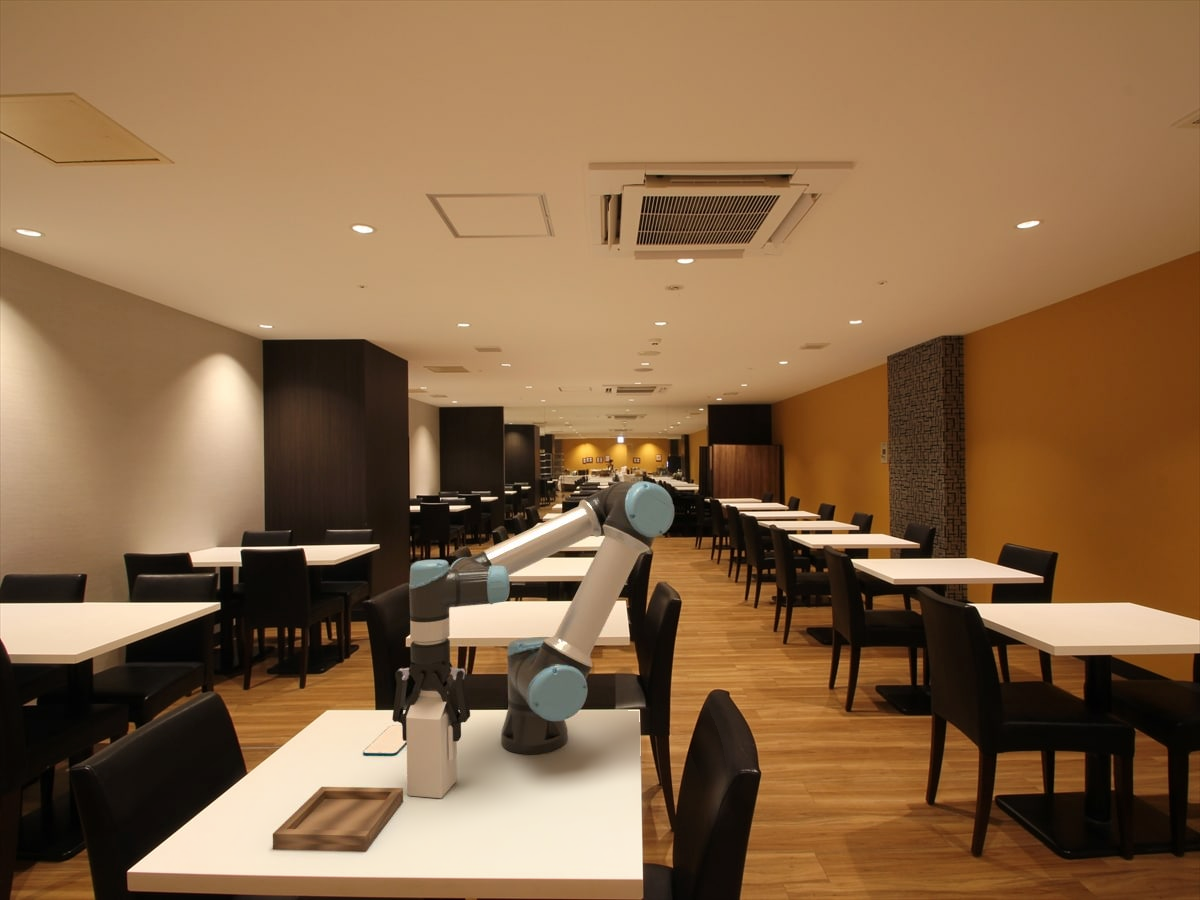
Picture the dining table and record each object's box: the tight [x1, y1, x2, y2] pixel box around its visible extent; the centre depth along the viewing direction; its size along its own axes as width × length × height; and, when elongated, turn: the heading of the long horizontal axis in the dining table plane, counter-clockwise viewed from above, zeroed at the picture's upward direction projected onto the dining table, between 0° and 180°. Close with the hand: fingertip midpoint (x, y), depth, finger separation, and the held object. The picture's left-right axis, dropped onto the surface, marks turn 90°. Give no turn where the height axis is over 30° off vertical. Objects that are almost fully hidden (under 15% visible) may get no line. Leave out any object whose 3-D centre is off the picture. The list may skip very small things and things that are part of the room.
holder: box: [272, 786, 404, 852], centre depth 116 cm, size 16×16×2 cm
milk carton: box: [406, 689, 458, 799], centre depth 128 cm, size 7×7×19 cm
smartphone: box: [362, 724, 407, 757], centre depth 151 cm, size 8×1×16 cm
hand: (432, 756), depth 128 cm, fingers closed on milk carton, 7 cm apart
